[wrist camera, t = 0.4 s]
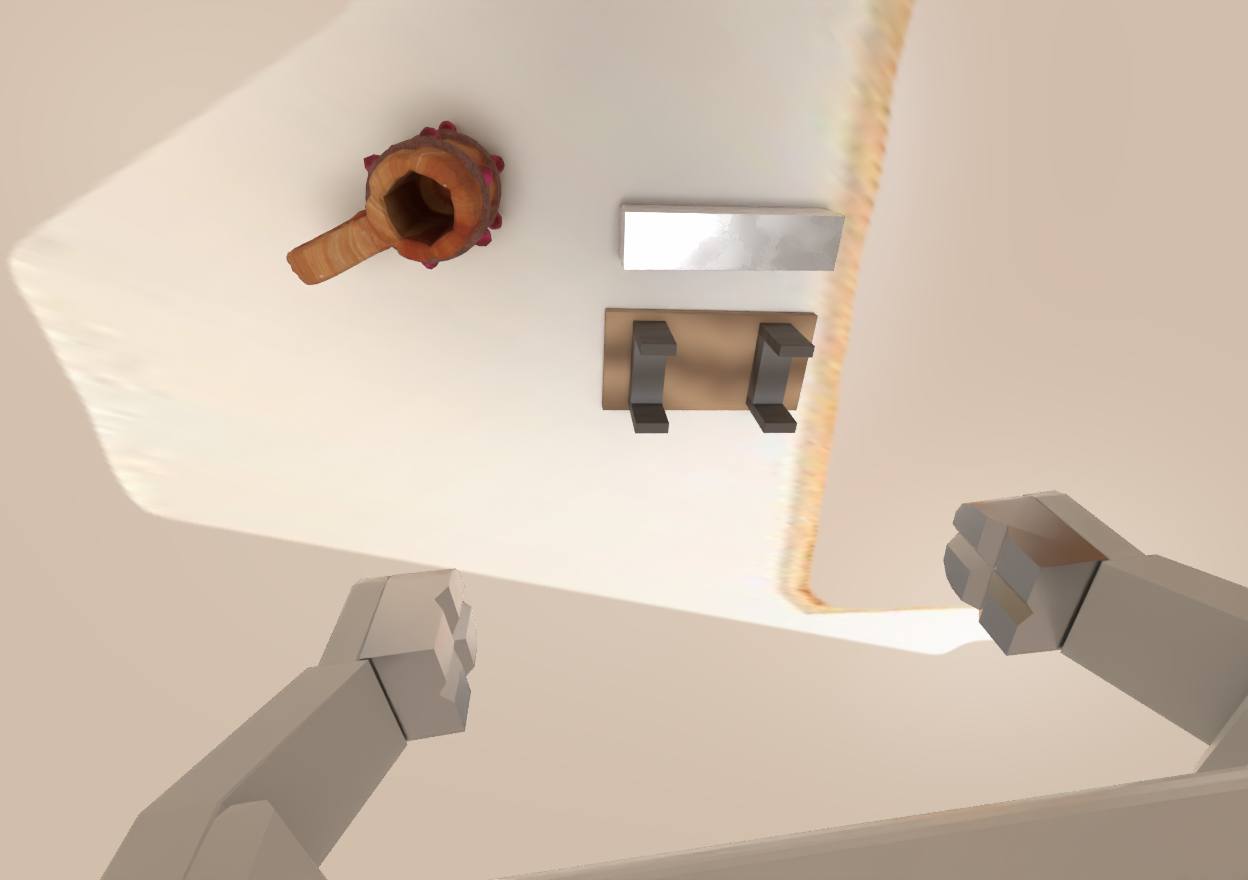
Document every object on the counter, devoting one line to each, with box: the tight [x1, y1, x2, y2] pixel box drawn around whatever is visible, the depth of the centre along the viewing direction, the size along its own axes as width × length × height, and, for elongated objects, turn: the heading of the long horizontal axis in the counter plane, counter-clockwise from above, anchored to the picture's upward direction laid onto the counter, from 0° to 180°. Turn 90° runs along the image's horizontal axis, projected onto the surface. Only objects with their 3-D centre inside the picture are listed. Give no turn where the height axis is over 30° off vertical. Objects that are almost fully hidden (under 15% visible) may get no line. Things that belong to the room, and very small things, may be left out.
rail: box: [619, 204, 845, 271], centre depth 49 cm, size 18×4×4 cm, turn 88°
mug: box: [287, 121, 504, 285], centre depth 41 cm, size 15×8×15 cm, turn 112°
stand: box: [602, 309, 818, 433], centre depth 54 cm, size 10×20×7 cm, turn 87°
